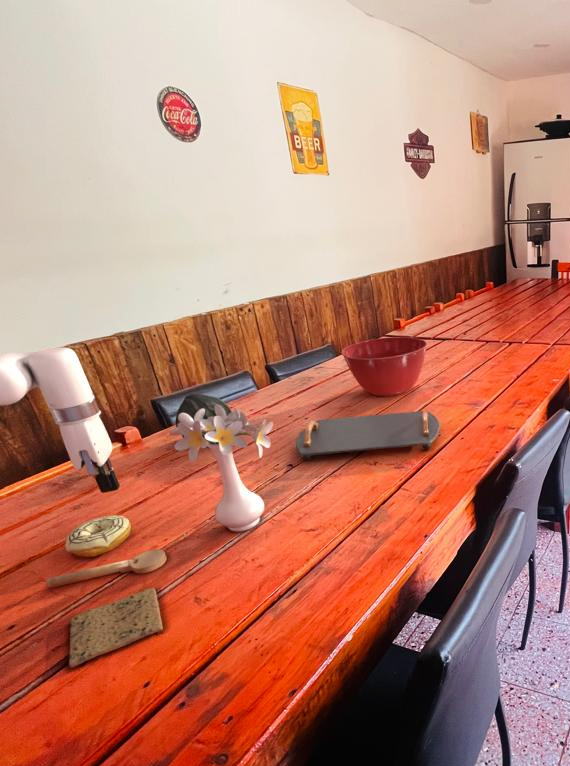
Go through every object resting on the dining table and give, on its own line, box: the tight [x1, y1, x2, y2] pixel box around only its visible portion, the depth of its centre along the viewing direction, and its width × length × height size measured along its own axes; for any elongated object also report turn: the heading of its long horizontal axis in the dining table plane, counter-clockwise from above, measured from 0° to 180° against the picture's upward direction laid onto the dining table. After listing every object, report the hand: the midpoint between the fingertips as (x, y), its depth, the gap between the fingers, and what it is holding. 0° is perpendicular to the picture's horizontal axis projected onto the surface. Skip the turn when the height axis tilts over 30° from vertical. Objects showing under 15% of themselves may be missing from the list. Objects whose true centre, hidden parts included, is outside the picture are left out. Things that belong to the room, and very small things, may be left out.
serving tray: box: [295, 410, 441, 462], centre depth 139 cm, size 39×23×6 cm, turn 96°
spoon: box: [45, 548, 167, 589], centre depth 93 cm, size 19×6×2 cm, turn 111°
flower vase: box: [169, 404, 274, 532], centre depth 101 cm, size 13×18×25 cm
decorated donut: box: [65, 514, 132, 558], centre depth 101 cm, size 10×11×4 cm
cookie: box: [68, 587, 163, 669], centre depth 81 cm, size 12×12×1 cm
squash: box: [175, 393, 233, 442], centre depth 144 cm, size 14×15×15 cm
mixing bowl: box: [341, 336, 428, 397], centre depth 174 cm, size 28×28×16 cm
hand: (110, 489), depth 110 cm, fingers closed
